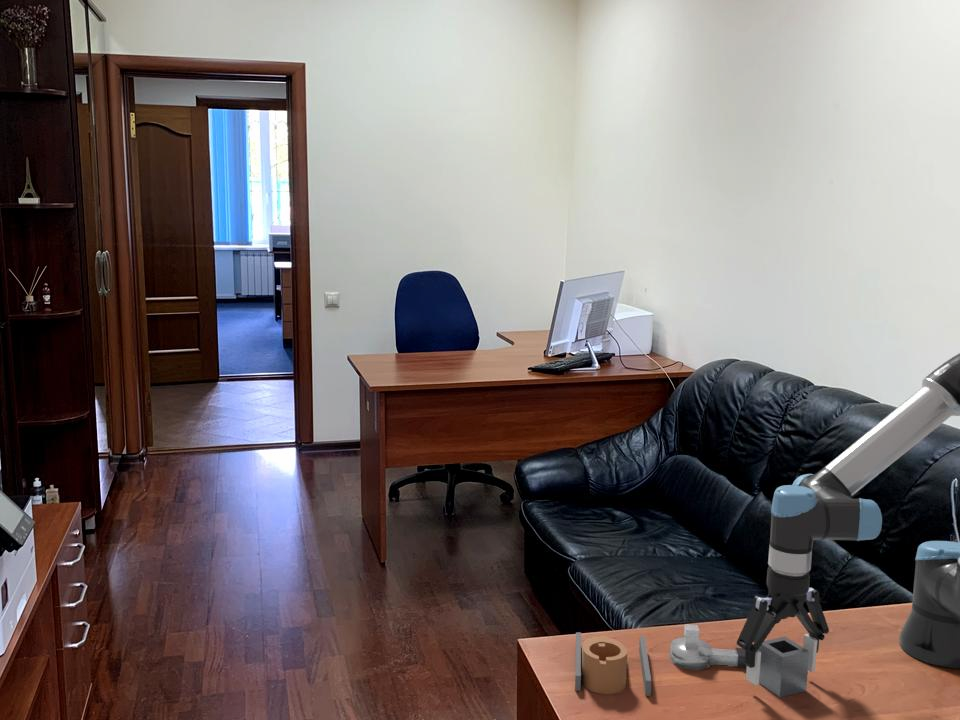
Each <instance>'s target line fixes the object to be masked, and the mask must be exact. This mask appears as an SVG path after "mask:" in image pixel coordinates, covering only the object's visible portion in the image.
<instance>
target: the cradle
mask: <svg viewBox="0 0 960 720" xmlns="http://www.w3.org/2000/svg"><path fill="white" fill-rule="evenodd" d="M645 637H646V636H642V635H641V636H639V639H638V640H639V641H638V643H639V644H638V646H639V647H638V652H639V657H640V658H639V659H640V660H639V661H640V667H641V675H642V682H643V683H642V684H643V689H644V696H647V697H648V696H649V697H651V695H652V675H651V671H650V664H649V663H650V662H649V656H648V650H647V645H646V644H647V642H646V638H645ZM574 663H575V664H574V665H575V669H574V671H575V672H574V676H575V677H574V685H575V686H574V690H575V692H581V683H582V632H581V631H580V632H575V660H574Z"/></svg>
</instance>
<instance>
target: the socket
mask: <svg viewBox="0 0 960 720" xmlns="http://www.w3.org/2000/svg"><path fill="white" fill-rule="evenodd" d="M758 650H759V651H760V652H761V661H760V675H759V685H761V686H763V688H765V689H766V690H768V691H769V692H771V693H773V694H774V695H775V696H777V698H783V697H789V696H790V695H796V694H799V693H800V694H801V693H803V692H806V691H807V686H808V671H809V670H808V660H809V651H808V650H807V649H805V648H803V645H802V646H801V645H800V644H798V643H796V642H795V641H793V640H791V639H789V637H787V636H781V637H776V638H771V639H768V640H764V642H763V643H762V645H761V646H760V648H759V649H758Z"/></svg>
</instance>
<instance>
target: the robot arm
mask: <svg viewBox="0 0 960 720" xmlns="http://www.w3.org/2000/svg"><path fill="white" fill-rule="evenodd" d="M953 416H954V417H960V352H959V353H958V354H956V355H954V356H953V357H951V358H949V359H948V360H947V361H945V362H943V363H942V364H941V365H939V366H937V367H936V369H933V371H932V372H930V373H929V374H928V375H927V376H925V378H924V377H923V379H922V386H921V388H920V389H918V390H917V391H915V392H914V394H912V395H910V397H908V398H907V399H906V400H904V401H903V402H902V404H900V405H899V406H897V407H896V408H895V409H894V410H893V411H891V412H890V413H888V415H887V416H885V417H884V418H883V419H882V420H881V421H879V422H878V423H876V425H875V426H873V427H871V429H869V430H868V431H867V432H866V433H864V434H863V435H862V436H861V437H859V438H858V439H857V440H856V441H854V442H853V443H852V444H851V445H850V446H849V447H847V448H846V449H845V450H844V451H843V452H842V453H840V454H839V455H838V456H836V457H835V458H833V460H831V461H830V462H829V463H828V464H827V465H825V466H824V467H823V468H822V469H821V470H819V471H818V472H817V473H815V474H813V473H806V474H802V475H800V476H797V478H795V480H794V481H793V483H792V484H788V485H785V484H784V485H781V486H778V487H776V489H775V491H774V493H773V498H772V503H771V509H770V513H771V517H770V519H771V520H770V532H769V533H770V537H769V546H768V547H769V548H768V561H767V564H768V567H767V572H766V574H767V575H766V586H767V589H768V594H767V596H766V597H760V596H759V595H755V596H754V597H753V600H752V608H751V610H750V612H749V614H748V616H747V618H746V621H745V622H744V624H743V627H742V629H741V632H740V634H739V636H738V638H737V640H736V645H737V646H739V648H743V649H744V650H745V665H747V668H745V669H746V671H745V679H746V680H747V681H748V682H750V683H751V684H752V685H754V686H760V684H759V675H760V661H761V652H760V651H759V650H758V649H759V648H760V646H761V645H762V643H763V642H764V641H766V638H768V636H769V634H770V633H771V631H772V630H773V628H774V627H775V625H777V624H779V623H780V622H781V620H785V619H789V618H795V617H796V618H797V619H798V621H799V622H800V623H801V625H802V626H803V628H804V629H805V631H806V633H804V634H803V642H802V643H803V645H802V647H803V648H805V649H807V650H808V651H809V660H808V671H809V672H810V673H815V671H816V663H817V661H816V660H817V654H818V652H819V647H820V641H823V640H825V635H828V634H829V632H830V628H829V626H828V622H827V620H826V617H825V614H824V611H823V609H822V605H821V603H820V591H819V590H817V589H814V588H813V587H810V578H811V573H810V571H811V570H812V556H813V546H814V544H813V543H814V541H815V540H817V541H819V540H820V541H821V540H822V541H823V540H827V541H829V540H830V541H831V540H832V541H833V540H834V541H857V542H860V541H866V540H867V541H868V540H869V541H870V540H874V539H877V538H878V536H879V535H880V533H881V531H882V525H883V516H882V512H881V508H880V507H879V505H878V503H877V502H875V500H872V499H868V498H867V499H865V498H861V497H859V498H852V496H854V495H855V494H856V493H857V492H859V491H860V490H861V489H863V488H864V487H865V486H866V485H867V484H869V483H870V482H871V481H873V480H874V479H875V478H877V477H878V476H879V474H881V473H882V472H884V471H885V470H886V469H887V468H888V467H889V466H891V465H892V464H893V463H895V462H896V461H897V460H898V459H900V457H902V456H903V455H905V454H906V453H907V452H908V451H910V450H911V449H912V448H913V447H914V446H916V445H917V444H919V443H920V442H921V441H922V440H924V439H925V438H926V437H927V436H928V435H929V434H931V433H932V432H934V431H935V430H936V429H937V428H938V427H939V426H941V425H942V424H943V423H945V422H946V421H947V420H948V419H949V418H951V417H953ZM914 559H915V560H914V562H915V565H914V566H915V569H914V578H913V579H914V580H913V592H912V593H913V594H912V601H911V602H912V603H911V611H910V612H909V614H908V616H907V619H905V622H904V624H903V627H902V628H901V630H900V633H899V641H898V642H899V647H900V648H901V649H902V650H903V652H905V653H907V654H908V655H910V656H911V657H913V658H914V659H916V660H919V661H921V662H924V663H927V664H930V665H932V666H933V665H934V666H938V667H942V668H947V669H948V668H949V669H960V542H956V541H949V540H929V541H925V542H922V543H921V544H919V545H918V546H917V551H916V555H915V558H914ZM805 603H806V605H807V609H808V610H807V609H806V608H805V606H804V604H805ZM808 611H809V612H808ZM809 613H810V615H809ZM772 614H773V615H772Z"/></svg>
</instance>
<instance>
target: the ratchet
mask: <svg viewBox="0 0 960 720" xmlns="http://www.w3.org/2000/svg"><path fill="white" fill-rule="evenodd" d="M683 627H684V628H683V629H684V631H683V636H682V637H678V638H674V639H672V640H671V642H670V649H669V650H670V651H669V660H670V661H671V663H672V664H674V666H676V667H678V668H680V667H681V668H680V669H683V668H684V670H687V669H688V670H689V671H702V670H701V669H703V670H706V669H708V668H709V667H710V666H711V665H710V664H713V665H712V666H717V665H728V666H727V667H733V666H737V667H736V668H738V667H744V668H743V669H747V665H745V650H744V649H743V648H741V647H735V649H730V648H729V649H728V648H727V649H726V648H712V646H711V644H710V643H708V642H706V641H705V640H702V639H700V628H699V625H697V624H687V623H686V624H684V626H683ZM709 665H710V666H709ZM708 666H709V667H708ZM707 667H708V668H707ZM705 668H706V669H705Z"/></svg>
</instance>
